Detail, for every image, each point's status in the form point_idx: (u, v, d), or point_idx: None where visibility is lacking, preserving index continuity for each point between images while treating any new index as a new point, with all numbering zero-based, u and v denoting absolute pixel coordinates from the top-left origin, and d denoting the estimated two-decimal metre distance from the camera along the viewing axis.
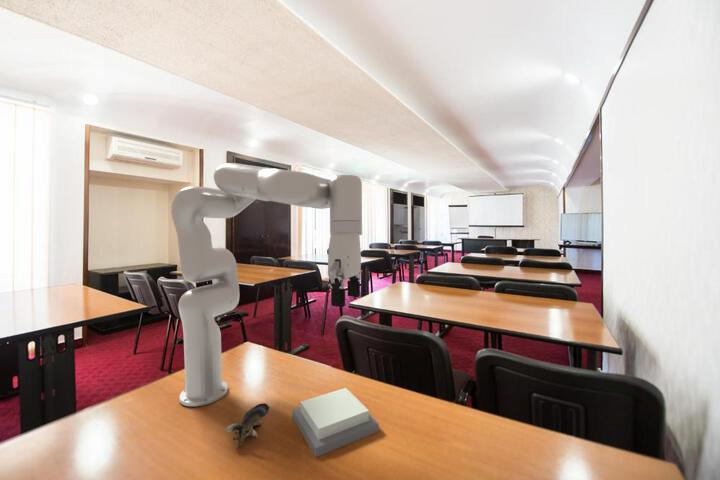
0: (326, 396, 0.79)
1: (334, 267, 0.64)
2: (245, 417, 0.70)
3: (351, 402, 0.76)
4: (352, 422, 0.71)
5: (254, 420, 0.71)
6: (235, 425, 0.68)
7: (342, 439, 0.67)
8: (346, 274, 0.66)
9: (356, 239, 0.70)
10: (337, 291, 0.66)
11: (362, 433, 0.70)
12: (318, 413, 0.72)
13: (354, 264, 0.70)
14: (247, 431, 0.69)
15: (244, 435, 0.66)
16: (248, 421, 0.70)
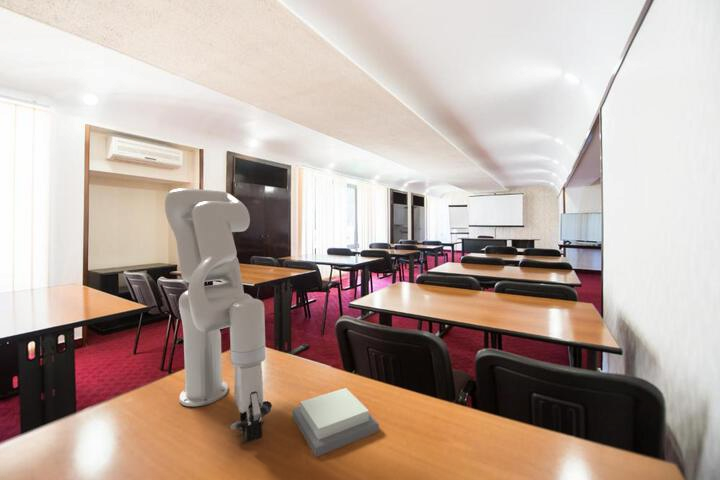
0: (326, 396, 0.79)
1: (256, 405, 0.64)
2: None
3: (351, 402, 0.76)
4: (352, 422, 0.71)
5: None
6: (239, 422, 0.69)
7: (342, 439, 0.67)
8: (262, 403, 0.67)
9: None
10: (256, 425, 0.66)
11: (362, 433, 0.70)
12: (318, 413, 0.72)
13: None
14: None
15: None
16: None
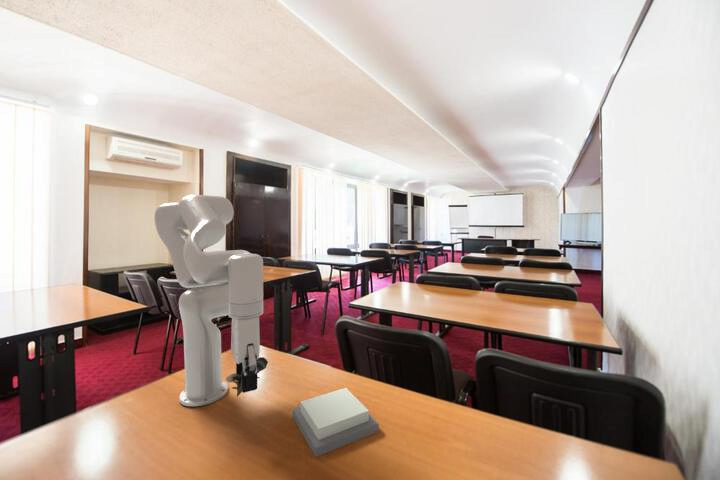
0: (326, 396, 0.79)
1: (252, 356, 0.64)
2: None
3: (351, 402, 0.76)
4: (352, 422, 0.71)
5: None
6: (235, 375, 0.70)
7: (342, 439, 0.67)
8: (258, 355, 0.67)
9: None
10: (251, 376, 0.66)
11: (362, 433, 0.70)
12: (318, 413, 0.72)
13: None
14: None
15: None
16: None
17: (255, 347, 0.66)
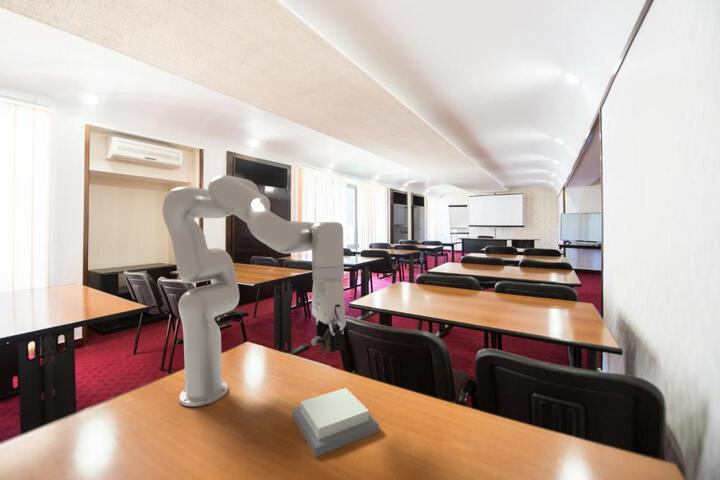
0: (326, 396, 0.79)
1: (341, 315, 0.68)
2: (326, 332, 0.75)
3: (351, 402, 0.76)
4: (352, 422, 0.71)
5: None
6: (319, 338, 0.73)
7: (342, 439, 0.67)
8: (344, 317, 0.70)
9: None
10: (339, 336, 0.69)
11: (361, 433, 0.70)
12: (318, 413, 0.72)
13: None
14: (329, 345, 0.74)
15: (329, 345, 0.71)
16: (328, 337, 0.75)
17: (341, 308, 0.70)
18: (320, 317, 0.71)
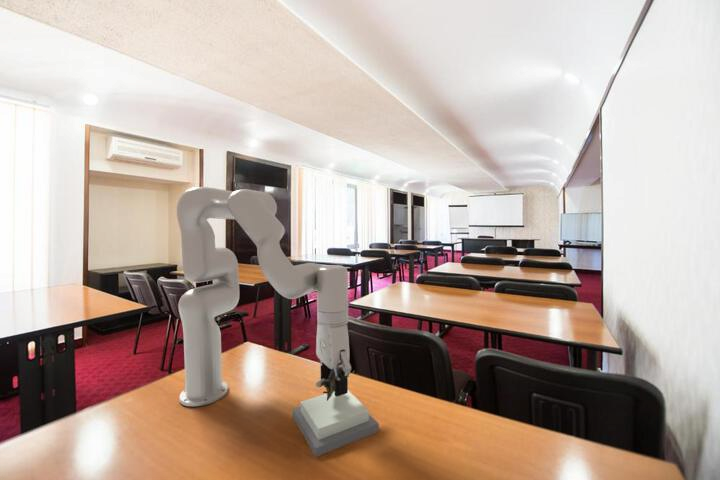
0: (326, 396, 0.79)
1: (346, 361, 0.68)
2: (330, 374, 0.75)
3: (351, 402, 0.76)
4: (352, 422, 0.71)
5: None
6: (323, 380, 0.74)
7: (342, 439, 0.67)
8: (348, 361, 0.71)
9: None
10: (343, 381, 0.70)
11: (361, 433, 0.70)
12: (318, 413, 0.72)
13: None
14: None
15: None
16: (332, 378, 0.76)
17: (346, 353, 0.70)
18: (325, 361, 0.72)
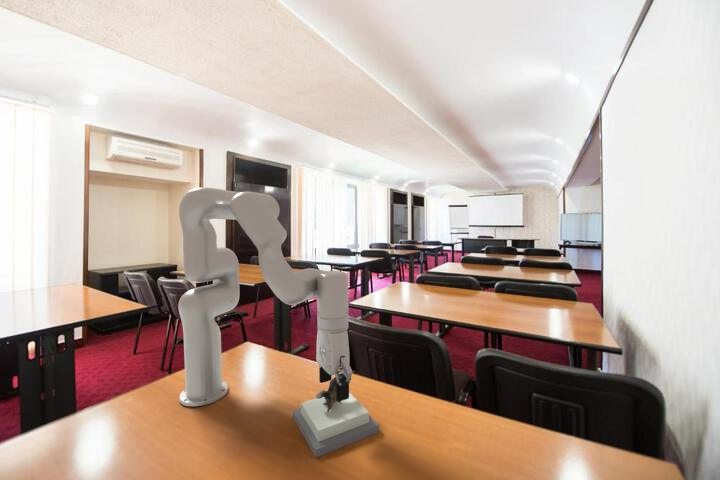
0: None
1: (347, 365, 0.68)
2: (330, 385, 0.75)
3: (351, 403, 0.76)
4: (352, 424, 0.71)
5: None
6: (323, 392, 0.74)
7: (342, 441, 0.67)
8: None
9: None
10: (345, 386, 0.70)
11: (362, 434, 0.70)
12: (318, 414, 0.72)
13: None
14: (333, 397, 0.75)
15: (334, 400, 0.72)
16: (332, 389, 0.76)
17: (346, 359, 0.70)
18: (325, 367, 0.72)
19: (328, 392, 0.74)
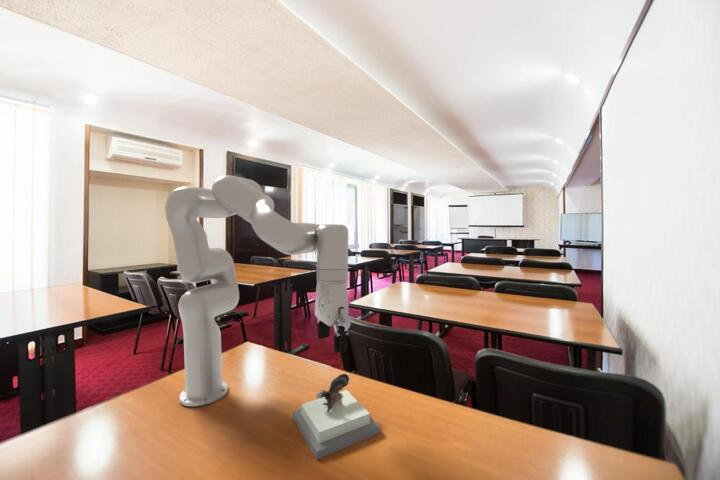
0: None
1: (346, 315, 0.68)
2: (331, 385, 0.75)
3: (352, 405, 0.76)
4: (353, 425, 0.70)
5: (338, 389, 0.77)
6: (324, 392, 0.74)
7: (343, 443, 0.67)
8: None
9: None
10: (343, 337, 0.69)
11: (363, 436, 0.69)
12: (318, 416, 0.71)
13: None
14: (334, 398, 0.75)
15: (334, 400, 0.72)
16: (333, 389, 0.76)
17: (345, 310, 0.70)
18: (323, 319, 0.71)
19: (329, 392, 0.74)
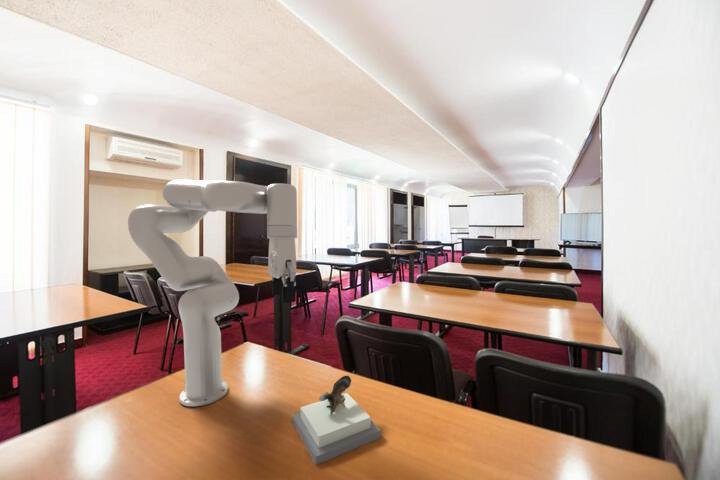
0: (327, 402, 0.77)
1: (291, 266, 0.72)
2: (334, 387, 0.74)
3: (352, 408, 0.74)
4: (353, 429, 0.69)
5: (340, 391, 0.76)
6: (327, 394, 0.72)
7: (343, 447, 0.65)
8: None
9: None
10: (291, 288, 0.74)
11: (363, 440, 0.68)
12: (318, 419, 0.70)
13: None
14: None
15: (337, 403, 0.71)
16: (336, 391, 0.75)
17: (293, 263, 0.74)
18: (273, 272, 0.76)
19: (332, 395, 0.73)
